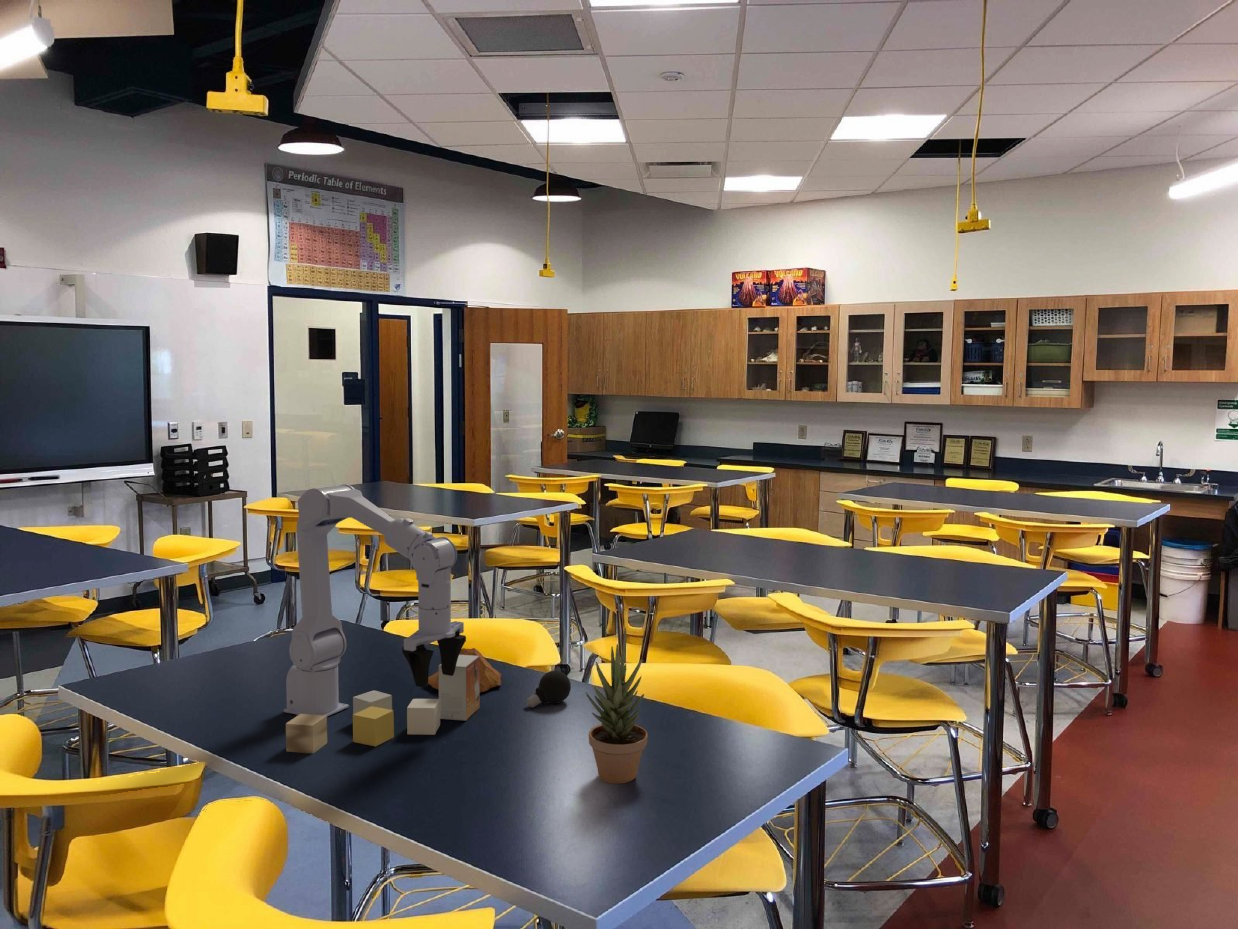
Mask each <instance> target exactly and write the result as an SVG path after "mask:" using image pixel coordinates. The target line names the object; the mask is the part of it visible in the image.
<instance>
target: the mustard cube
mask: <svg viewBox="0 0 1238 929" xmlns="http://www.w3.org/2000/svg"><path fill="white" fill-rule="evenodd" d="M394 712H395V711H394V710H393V709H392V710H389V709H383V708H378V707H373V706H371V707H369V708H366V709H364V710H362V711H360V712H358V713H355V714H353V713H352V742H353V743H358V744H362V745H368V746H371V747H378V746H379V745H381V744H383V743H385V742H387V741H389V740H392V739H393V738H395V723H394V722H395V721H394V720H395V718H394V717H395V716H394Z"/></svg>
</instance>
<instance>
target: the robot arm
mask: <svg viewBox="0 0 1238 929" xmlns="http://www.w3.org/2000/svg"><path fill="white" fill-rule="evenodd" d="M297 507H298V508H297V511H298V518H297V521H296V541H297V557H298V569H299V570H298V572H299V573H298V574H299V586H300V600H301V601H300V602H301V619H299V621H298V622H297V623H296V625H295V626H294V627H293V628H292V630H291V641H290V644H289V647H288V648H289V657H290V660H291V662H292V664H293V665H291V667H290V668H289V669H288V671H287V675H286V677H285V678H286V679H285V680H286V682H285V685H286V686H285V687H286V688H285V690H286V708H283V712H284V713H287V714H293V715H296V716H298V715H299V714H310V715H324V716H327V717H329V716H331V715H333V714H336V713H338V712H341V711H343V710H345V709H347V708H349V707H350V705H349V704H347V703H341V702H340V700H339V698H340V696H339V695H340V694H339V664H340V663H341V657H342V656H344V654H345V652H346V649H347V645H348V644H347V638H346V636H345V634H344V631H343V626H342V621H341V620H340V619H339V618H338V617H336V616H335V615H333V609H332V593H331V579H330V578H331V577H330V561H329V547H328V546H329V544H328V542H329V541H328V534H329V533H330V532H331V531H332V529H334V528H335V527H336V525H337V524H339V523H341V522H343V521H344V520H346V519H351V518H352V520H355V521H357V522H359V523H360V524H362V525H364V526H366V527H368V528H369V529H372V530H374V531H375V532H376V533H379V534H380V535H382V536H383V539H384V543H385V544H386V546H388V547H389V548H390V549H393V550H394V551H395V552H396V553H398V554H401V556H403V557H405V558H407V559H408V560H410V561H411V562H410V563H411V566H412V568H413V569H414V571H415V573H416V575H415V576H416V578H415V579H416V580H417V583H418V584H417V586H418V588H417V589H418V590H417V591H418V592H417V594H418V595H417V598H418V600H417V601H418V603H417V604H418V607H417V608H418V609H417V610H418V611H417V612H418V613H417V614H418V617H417V618H418V624H417V625H418V630H416V631H415V632H413V633H412V634H411V635H410V636H408V637H406V638H404V639H403V646H402V648H401V649H402V655H403V656H404V657H405V659H406V661H407V662H408V665H409V667H410V670H411V673H412V676H413V680H414V685H415V686H416V687H419V688H427V687H428V685H429V684H428V677H430V676H429V675H430V674H429V673H430V672H429V670H430V665H431V660H432V657H433V656H434V655H433V654H434V650H432V649H427V647H425V646H426V645H429V644H431V643H435V642H437V646H438V648H439V654H440V664H441V668H442V673H443V674H444V675H449V676H453V675H454V672H455V668H456V664H457V660H458V656H459V654H460V651H461V649H462V648H464V645H465V643H467V642H466V641H467V636H466V635H463V634H464V629H465V628H464V627H465V626H464V622H462V621H456V620H455V621H452V617H451V616H452V604H451V603H452V600H451V599H452V596H451V595H452V592H451V591H452V590H451V589H452V588H451V587H452V586H451V585H452V584H451V583H452V582H451V581H452V580H451V578H452V577H451V576H452V575H451V574H452V572H451V571H452V567H453V566H454V565H456V562H457V560H458V559H457V558H458V550H457V548H456V545H455V544H454V543H453V541H452V540H450V539H449V538H448V537H446V536H440V537H436V536H433V535H434V534H433V533H432V532H430V531H425V530H424V529H422V527H419V526H417V525H416V524H414V522H415V521H414V520H413V519H412V518H410V517H408V518H405V517H399V518H397V519H395V518H393V517H391V516H390V515H389V514H388V513H386V512H385V511H384V510H382V509H381V508H380V507H378V506H376V505H375V504H374V503H373V502H371V501H369V499H367V498H366V497H364V496H363V493H362V490H359V489H356V488H355V487H353V486H352V485H350V484H347V483H346V484H344V483H343V484H339V485H335V486H334V485H333V486H328V487H327V486H326V487H320V488H317V487H316V488H315V487H314V488H310V489H307V490H306V491H304V493H303V494H302V495H301V496H300V497H299V498H298V499H297ZM462 633H463V634H462Z"/></svg>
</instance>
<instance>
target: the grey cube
mask: <svg viewBox="0 0 1238 929" xmlns="http://www.w3.org/2000/svg"><path fill="white" fill-rule="evenodd" d="M371 706H373V707H378V708H383V709H389V710H393V695H392V694H389V693H385V692H381V691H379V690H371V691H367V692H364V693H360V694H358V695H356V696H353V697H352V715H353V714H355V713H358V712H360V711H362V710H364V709H366V708H369V707H371Z"/></svg>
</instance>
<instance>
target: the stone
mask: <svg viewBox="0 0 1238 929" xmlns="http://www.w3.org/2000/svg"><path fill="white" fill-rule="evenodd" d="M459 655H472V656H480V693H483V692H487V691H489V690H490V689H492V688H494V687H500V686H501V685H502V683H503V681H502V679H501V677H502V673H500V672H499V671H498V670H496V669H495V668H494V667H492V665H491V664H490V662H488V661H487V660H486V658H485V657H484V656H483V654H482V653H481V652H480V651H479V650H478V649H476V648H475V647H474V648H473V647H472V648H466V647H462V649H461V651H460V654H459ZM427 685H429V686H431V688H433V689H436V690H438V691H439V669H438V670H437V671H436V672H434V673H433V674H432V675H430V676H428V684H427Z"/></svg>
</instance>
